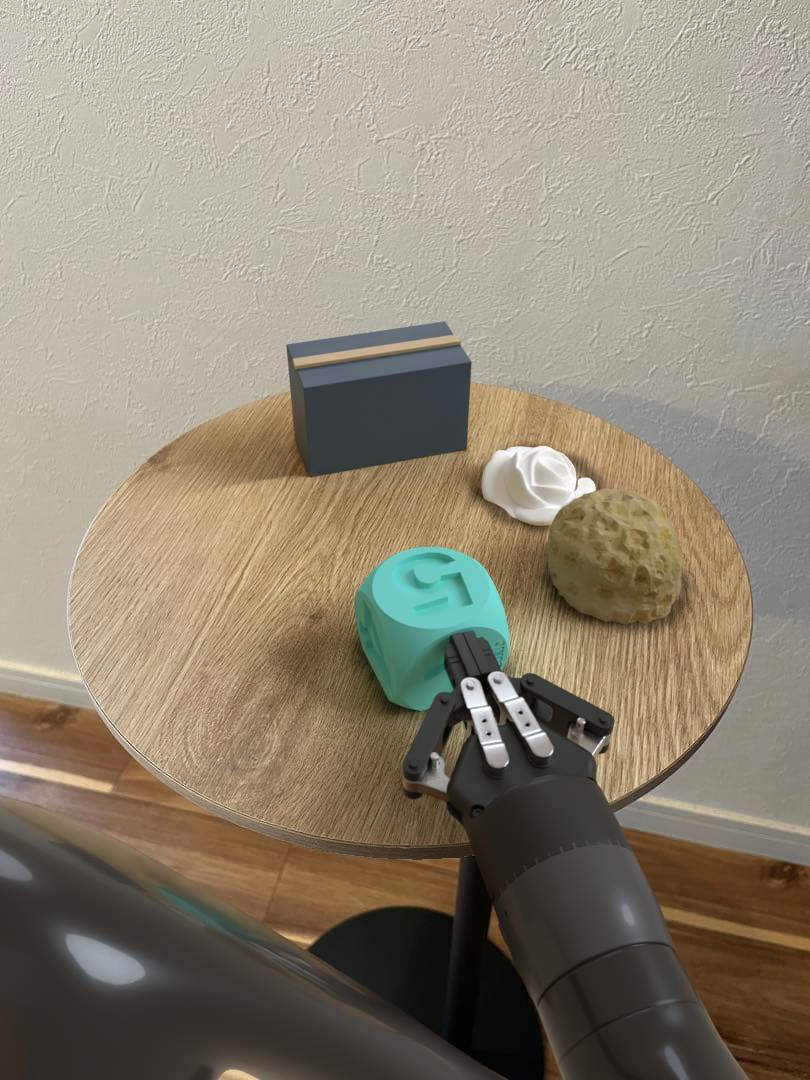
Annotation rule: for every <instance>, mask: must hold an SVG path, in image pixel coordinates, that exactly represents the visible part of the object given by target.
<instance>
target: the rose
mask: <svg viewBox="0 0 810 1080" xmlns="http://www.w3.org/2000/svg"><path fill="white" fill-rule="evenodd" d="M576 485H577V488H576ZM480 488H481V493H482V496H483V499H484V500H486V501H488V502H490V503H493V504H495V505H497V506H499V507H500V508H502V509H503V510H504V511H506V513H507V514H508V515H509V516H511V518H513V519H516V520H518V521H520V522H521V523H522V522H523V523H525V524H528V525H532V526H537V527H538V526H540V527H541V526H544V527H545V526H551V524H552V522H553V520H554V518H555V516H556V514H557V512H558V511H559V510H560V509H561V508H562V507H564V506H566V505H568V504H569V503H570V502H571V501H572V500H574V499H575V498H579V497H581V496H582V495H583V494H586V493H591V492H593V491H596V490H597V489H596V488H597V487H596V483H595V482H594V481H593V480H592V478H589V477H581V478H578V480H577V473H576V468H575V465H574V464H573V463H572V461H571V460H570V459H569V458H568V457H567V455H566V454H564V453H563V452H561V451H558V450H554V448H552V447H550V446H548V445H538V446H534V447H531V446H519V445H518V446H511V447H508V448H506V449H505V450H503V449H498V450H496V451H495V452H494V453H493V454H492V456H491V458H490V460H489V461H488V462H487V463H486V465H485V467H484V469H483V472H482V475H481V487H480Z"/></svg>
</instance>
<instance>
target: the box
mask: <svg viewBox="0 0 810 1080" xmlns="http://www.w3.org/2000/svg"><path fill="white" fill-rule="evenodd" d="M286 357H287V367H288V379H289V388H290V389H289V390H290V401H291V402H290V403H291V412H292V424H293V431H294V432H293V435H294V443H295V445H296V448H297V451H298V453H299V457H300V459H301V462H302V465H303V468H304V471H305V473H306V474H307V473H309V474H308V475H309V478H315V477H321V476H327V475H332V474H338V473H344V472H349V471H355V470H361V469H367V468H372V467H373V468H374V467H378V466H383V465H389V464H395V463H400V462H401V463H402V462H406V461H412V460H418V459H423V458H429V457H434V456H440V455H446V454H451V453H459V452H462V451H467V450H468V435H469V420H470V419H469V415H470V400H471V399H470V398H471V382H472V381H471V379H472V365H473V363H472V360H471V359H470V357H469V356H468V354H467V353H466V351H465V350H464V348H463V346H462V340H461V339H460V337H459V336H458V334H454V332H453V331H452V329H451V328H450V326H449V325H448V324H447V322H446V321H438V322H432V323H424V324H416V325H410V326H404V327H395V328H388V329H382V330H376V331H375V330H374V331H369V332H362V333H361V332H360V333H355V334H347V335H343V336H342V335H341V336H335V337H328V338H327V337H326V338H320V339H314V340H307V341H300V342H293V343H287V344H286Z"/></svg>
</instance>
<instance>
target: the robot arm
mask: <svg viewBox="0 0 810 1080" xmlns="http://www.w3.org/2000/svg"><path fill="white" fill-rule="evenodd" d="M444 668H445V670H446V673H447V675H448V678H449V680H450V683H451V685H452V688H453V690H454V691H452V692H450V693H449V692H440V693H438V694H437V695H436V696H435V698H434V700H433V702H432V704H431V706H430V708H429V709H427V713H426V715H425V716H424V719H423V721H422V723H421V724H420V727H419V729H418V731H417V733H416V735H415V737H414V740H413V741H412V743H411V746H410V747H409V749H408V752H407V753H406V755H405V757H404V759H403V761H402V792H403V793H402V794H403V795H404V797H406V798H407V799H409V800H419V799H420V798H422V797H423V795H425V796H427V797H431V798H434V799H437V800H439V801H443V802H445V804H446V810H447V812H448V813H449V814H450V816H451V817H452V818H454V819H455V820H456V821H457V822H458V823H460V825H461V826H462V828H463V829H464V831H465V833H466V836H467V839H468V842H469V844H470V847H471V850H472V852H473V855H474V858H475V861H476V863H477V867H478V869H479V872H480V874H481V877H482V879H483V883H484V885H485V888H486V890H487V893H488V896H489V899H490V902H491V903H492V904H491V905H492V907H493V909H494V912H495V915H496V918H497V921H498V924H497V926H498V929H499V931H500V934H501V937H502V940H503V942H504V944H505V946H507V948H508V951H509V953H510V956H511V958H512V961H513V963H514V965H515V968H516V970H517V972H518V974H519V976H520V978H521V980H522V982H523V984H524V985H525V987H526V989H527V991H528V994H529V995H530V997H531V999H532V1001H533V1004H534V1006H535V1008H536V1010H537V1012H538V1016H539V1019H540V1021H541V1025H542V1026H543V1027H542V1028H543V1029H544V1032H545V1034H546V1038H547V1040H548V1043H549V1045H550V1048H551V1051H552V1053H553V1056H554V1059H555V1061H556V1065H557V1066H558V1070H559V1073H560V1075H561V1078H562V1079H563V1080H751V1079H750V1078H749V1076H748V1074H747V1073H746V1072H745V1071H744V1069H743V1067H741V1065H740V1064H739V1062H738V1061H737V1059H736V1058H735V1056H734V1055H733V1054H732V1052H731V1051H730V1049H729V1048H728V1046H727V1045H726V1043H725V1042H724V1041H723V1038H722V1037H721V1035H720V1033H719V1032H718V1029H717V1028H716V1026H715V1025H714V1023H713V1021H712V1019H711V1017H710V1015H709V1012H708V1011H707V1009H706V1007H705V1005H704V1004H703V1001H702V999H701V997H700V995H699V993H698V991H697V990H696V989H697V988H696V987H695V985H694V983H693V981H692V979H691V977H690V975H689V973H688V971H687V969H686V966H685V965H684V963H683V962H682V959H681V957H680V955H679V953H678V952H677V948H676V946H675V944H674V941H673V939H672V936H671V933H670V931H669V928H668V925H667V922H666V918H665V915H664V913H663V911H662V908H661V906H660V903H659V901H658V899H657V896H656V895H655V893H654V890H653V888H652V887H651V885H650V883H649V881H648V878H647V877H646V874H645V872H644V870H643V869H642V867H641V864H640V862H639V861H638V859H637V857H636V853H634V851H633V849H632V847H631V844H630V843H629V841H628V839H627V837H626V834H625V833H624V830H623V829H622V826H621V825H620V822H619V821H618V819H617V817H616V815H615V813H614V811H613V809H612V807H611V805H610V803H609V801H608V798H607V797H606V795H605V793H604V791H603V789H602V787H601V786H600V785H599V783H598V781H597V780H598V779H597V771H598V765H597V761H596V758H597V756H598V755H603V754H605V753H607V752H608V751H609V748H610V744H611V740H612V735H613V732H614V726H615V721H616V720H615V717H614V716H613V714H611V713H610V712H608V711H607V710H605V709H602V708H600V707H599V706H597V705H594V704H593V703H591V702H590V701H587V700H586V699H583V698H581V696H578V695H576V694H574V693H572V692H570V691H568V690H567V689H564V688H563V687H560V686H558V685H557V684H555V683H553V682H551V681H549V680H547V679H546V678H543V677H541V676H540V675H537V674H536V673H533V672H527V673H524V674H523V675H521V677H512V676H509V675H507V674H506V673H505V672H503V669H502V670H501V668H500V666H499V664H498V662H497V659H496V657H495V655H494V653H493V651H492V649H491V646H490V644H489V642H488V641H487V640H486V639H485V638H483V637H480V638H477V637H476V634H475V632H474V631H468V632H463V633H459V634H454V635H450V644H447V645H445V654H444ZM459 723H462V727H463V731H464V733H465V741H464V742H463V744H462V747H461V749H460V752H459V754H458V756H457V759H456V762H455V764H454V767H453V770H452V772H451V775H450V777H449V776H448V775H447V774H446V772H445V771H446V762H445V759H444V758H443V757H442V755H443V752H444V751H445V748H446V746H447V744H448V742H449V740H450V738H451V735H452V733H453V730H454V728H455V726H456V725H457V724H459ZM230 1070H231V1071H232V1070H235V1071H238V1072H239V1071H240V1072H243V1073H245V1074H248V1075H250V1076H252V1077H253V1078H255V1079H257V1080H509V1079H508V1078H506V1077H504V1076H503V1075H500V1074H499V1073H498V1072H496V1071H494V1070H492V1069H491V1068H489V1067H487V1066H486V1065H483V1064H482V1063H480V1062H479V1061H477V1060H476V1059H475V1058H473V1057H471V1056H470V1055H468V1054H466V1053H465V1052H464V1051H462V1050H461V1049H459V1048H458V1047H456V1046H454V1045H453V1044H452V1043H450V1042H449V1041H447V1040H446V1039H444V1038H443V1037H442V1036H440V1035H439V1034H438V1033H436V1032H434V1031H433V1030H431V1029H430V1028H429V1027H428V1026H425V1025H424V1024H423V1023H421V1022H420V1021H418V1020H417V1019H416V1018H414V1017H412V1016H411V1015H409V1014H408V1013H407V1012H405V1011H404V1010H402V1009H401V1008H399V1007H397V1005H394V1004H393V1003H392V1002H390V1001H388V1000H387V999H385V997H382V996H381V995H379V994H377V993H376V992H374V991H373V990H371V989H370V988H369V987H366V986H365V985H363V984H362V983H360V982H359V981H357V980H355V979H354V978H352V977H350V976H349V975H347V974H346V973H344V972H342V971H340V970H339V969H338V968H336V967H334V966H333V965H331V964H329V963H327V962H326V961H324V960H322V959H321V958H320V957H318V956H317V955H315V954H313V953H311V952H310V951H308V950H307V949H305V948H304V947H301V946H300V945H298V944H297V943H295V942H293V941H292V940H290V939H289V938H287V937H285V936H284V935H282V934H280V933H279V932H278V931H276V930H274V929H273V928H271V927H269V926H268V925H265V924H264V923H263V922H261V921H260V920H258V919H256V918H255V917H253V916H252V915H249V914H248V913H247V912H245V911H243V910H242V909H240V908H238V907H237V906H235V905H233V904H231V903H230V902H228V901H226V900H225V899H223V898H221V897H220V896H218V895H216V894H215V893H213V892H211V891H209V890H208V889H206V888H205V887H203V886H201V885H200V884H198V883H196V882H194V881H193V880H191V879H189V878H188V877H186V876H184V875H183V874H181V873H179V872H178V871H176V870H174V869H172V868H171V867H169V866H168V865H166V864H164V863H162V862H160V861H159V860H157V859H155V858H153V857H152V856H149V855H148V854H145V853H144V852H142V851H140V850H139V849H137V848H135V847H134V846H131V845H129V844H128V843H126V842H124V841H122V840H120V839H118V838H115V837H114V836H111V835H109V834H107V833H106V832H104V831H101V830H99V829H97V828H96V827H93V826H90V825H89V824H87V823H84V822H82V821H81V820H78V819H76V818H73V817H71V816H68V815H66V814H63V813H60V812H58V811H55V810H52V809H50V808H48V807H45V806H42V805H40V804H37V803H34V802H29V801H25V800H23V799H18V798H15V797H11V796H8V795H4V794H0V1080H219V1079H220V1078H221V1076H222V1075H223V1074H224V1073H226V1072H227V1071H230Z"/></svg>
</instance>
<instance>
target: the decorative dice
mask: <svg viewBox="0 0 810 1080" xmlns="http://www.w3.org/2000/svg"><path fill="white" fill-rule="evenodd" d="M354 616H355V622H356V627H357V632H358V636H359V640H360V644H361V648H362V651H363V653H364V655H365V657H366V659H367V661H368V662H369V664H370V666H371V668H372V670H373V672H374V674H375V676H376V678H377V681H378V682H379V684H380V686H381V688H382V690H383V692H384V694H385V696H386V697H387V700H388V701H389V702H391V703H392V704H395V705H397V706H400V707H403V708H406V709H409V710H413V711H419V712H422V711H425V710H429V708H430V706H431V704H432V702H433V700H434V698H435V696H436V695H437V694H438V693H440V692H449V693H450V692H452V691H454V690H453V688H452V685H451V683H450V680H449V678H448V675H447V673H446V670H445V668H444V654H445V645H447V644H450V635H454V634H459V633H463V632H468V631H474V632H475V634H476V637H477V638H480V637H483V638H485V639H486V640H487V641H488V642H489V644H490V646H491V649H492V651H493V653H494V655H495V657H496V659H497V662H498V664H499V666H500V668H501V670H502V671H503V670H504V668H505V665H506V663H507V661H508V659H509V655H510V644H511V643H510V631H509V624H508V619H507V616H506V612H505V607H504V605H503V601H502V599H501V597H500V594H499V592H498V589H497V587H496V585H495V583H494V581H493V580H492V578H491V576H490V574H489V573H488V571H487V570H486V568H485V567H484V566H483V565H482V563H480V562H479V561H477V560H476V559H474V558H472V557H471V556H469V555H467V554H465V553H463V552H461V551H458V550H455V549H451V548H448V547H441V546H419V547H413V548H409V549H406V550H402V551H400V552H398V553H395V554H393V555H392V556H389V557H388V558H386V559H384V560H383V561H382V562H380V563H379V564H377V566H375V567H374V568H373V569H372V570H371V571H370V572H369V573H368V574H367V576H366V577H365V578H364V579H363V581H362V583H361V584H360V586H359V587H358V589H357V590H356V593H355V596H354Z"/></svg>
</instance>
